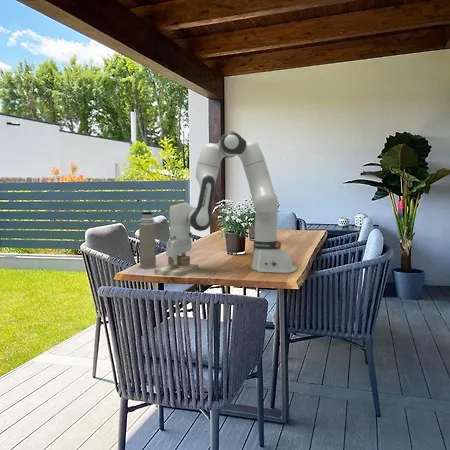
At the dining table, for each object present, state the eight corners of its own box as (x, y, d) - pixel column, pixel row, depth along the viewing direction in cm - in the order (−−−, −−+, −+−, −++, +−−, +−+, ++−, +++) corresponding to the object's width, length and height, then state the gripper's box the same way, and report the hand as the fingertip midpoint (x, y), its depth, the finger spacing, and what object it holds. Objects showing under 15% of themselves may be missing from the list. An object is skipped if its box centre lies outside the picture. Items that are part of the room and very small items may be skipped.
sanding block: (190, 266, 222) (189, 256, 221) (184, 268, 217) (184, 257, 216) (173, 264, 225) (173, 254, 225) (168, 266, 220) (168, 256, 219)
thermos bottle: (138, 268, 226) (137, 212, 223) (141, 265, 234) (140, 211, 231) (154, 268, 226) (153, 212, 223) (157, 265, 234) (156, 211, 231)
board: (198, 268, 226) (198, 264, 225) (181, 276, 208) (180, 272, 208) (173, 266, 231) (173, 262, 231) (154, 274, 213) (154, 269, 213)
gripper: (174, 238, 208) (175, 267, 210) (193, 232, 227) (194, 259, 229) (162, 237, 211) (163, 266, 212) (182, 232, 230) (182, 259, 231)
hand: (179, 263), depth 221 cm, fingers closed on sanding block, 5 cm apart
